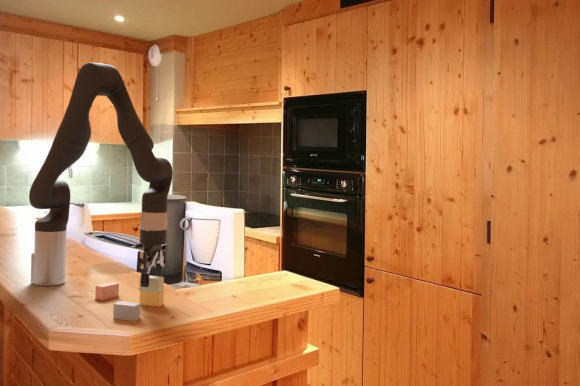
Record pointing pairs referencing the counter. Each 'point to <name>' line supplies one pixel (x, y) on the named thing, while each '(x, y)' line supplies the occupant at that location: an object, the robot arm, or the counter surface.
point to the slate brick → (126, 311)
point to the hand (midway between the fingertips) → (151, 283)
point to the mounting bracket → (189, 285)
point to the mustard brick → (151, 298)
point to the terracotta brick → (107, 290)
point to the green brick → (153, 284)
